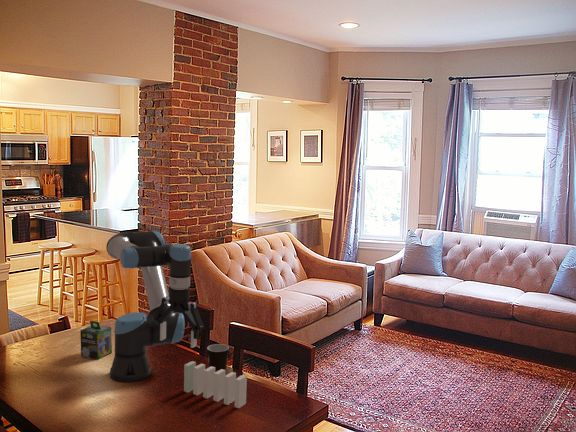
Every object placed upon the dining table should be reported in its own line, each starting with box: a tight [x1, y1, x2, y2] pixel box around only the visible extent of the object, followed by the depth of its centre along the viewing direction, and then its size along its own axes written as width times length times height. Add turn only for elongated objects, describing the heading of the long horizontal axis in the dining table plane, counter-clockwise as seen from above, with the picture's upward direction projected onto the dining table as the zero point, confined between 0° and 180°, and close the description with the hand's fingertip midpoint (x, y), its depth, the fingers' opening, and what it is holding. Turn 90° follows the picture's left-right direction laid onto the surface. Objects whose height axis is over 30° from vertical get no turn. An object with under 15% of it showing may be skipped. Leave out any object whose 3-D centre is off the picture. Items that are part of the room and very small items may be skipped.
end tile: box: [183, 360, 197, 393], centre depth 193 cm, size 2×4×10 cm, turn 151°
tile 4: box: [212, 369, 227, 403], centre depth 187 cm, size 2×4×10 cm, turn 151°
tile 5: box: [223, 371, 237, 406], centre depth 185 cm, size 2×4×10 cm, turn 151°
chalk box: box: [80, 320, 113, 361], centre depth 224 cm, size 9×9×15 cm
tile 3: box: [202, 366, 215, 399], centre depth 189 cm, size 2×4×10 cm, turn 151°
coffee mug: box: [206, 343, 230, 372], centre depth 212 cm, size 12×9×10 cm
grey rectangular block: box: [234, 374, 248, 409], centre depth 183 cm, size 2×4×10 cm, turn 151°
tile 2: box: [192, 363, 206, 396], centre depth 191 cm, size 2×4×10 cm, turn 151°
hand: (178, 343), depth 196 cm, fingers open, 13 cm apart
